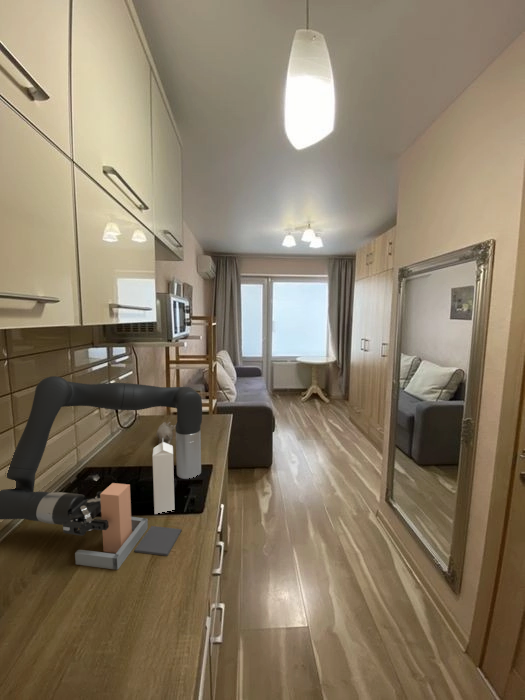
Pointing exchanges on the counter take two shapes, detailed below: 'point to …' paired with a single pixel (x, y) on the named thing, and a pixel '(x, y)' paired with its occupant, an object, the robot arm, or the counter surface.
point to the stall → (117, 559)
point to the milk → (163, 478)
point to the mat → (158, 541)
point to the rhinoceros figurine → (165, 432)
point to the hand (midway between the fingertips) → (118, 514)
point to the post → (116, 516)
